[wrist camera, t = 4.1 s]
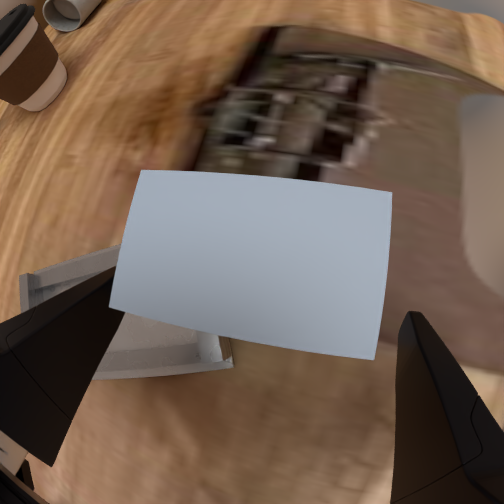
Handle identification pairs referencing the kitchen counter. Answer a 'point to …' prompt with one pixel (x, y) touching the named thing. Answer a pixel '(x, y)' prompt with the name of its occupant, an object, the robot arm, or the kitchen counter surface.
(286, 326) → the gray rectangular block
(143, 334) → the grey rectangular tray
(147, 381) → the kitchen counter surface
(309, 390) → the kitchen counter surface
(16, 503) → the robot arm
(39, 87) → the coffee cup
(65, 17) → the ceramic mug
